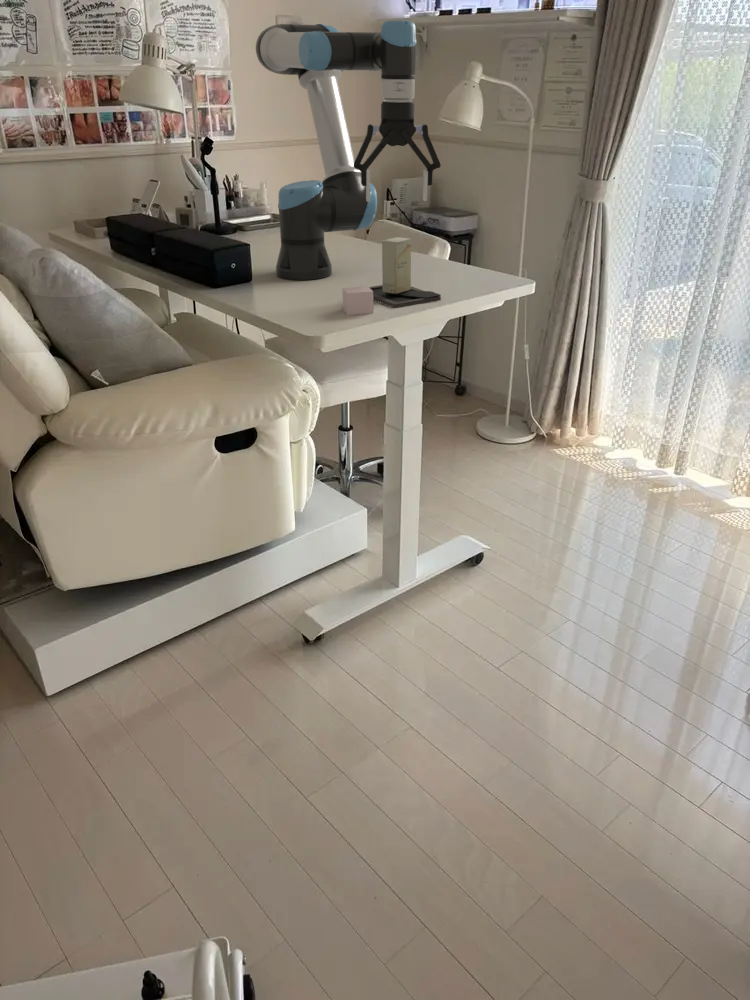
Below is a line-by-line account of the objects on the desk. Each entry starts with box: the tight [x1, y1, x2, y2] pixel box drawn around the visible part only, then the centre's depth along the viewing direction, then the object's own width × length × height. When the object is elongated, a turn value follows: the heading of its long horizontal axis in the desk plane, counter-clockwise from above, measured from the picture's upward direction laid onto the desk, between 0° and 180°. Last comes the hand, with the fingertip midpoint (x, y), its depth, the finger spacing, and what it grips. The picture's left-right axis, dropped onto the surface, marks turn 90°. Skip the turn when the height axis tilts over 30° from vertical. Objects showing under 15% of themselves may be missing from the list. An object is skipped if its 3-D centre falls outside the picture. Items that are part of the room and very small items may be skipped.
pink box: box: [341, 286, 374, 316], centre depth 180 cm, size 6×5×5 cm
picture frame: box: [368, 284, 442, 309], centre depth 193 cm, size 13×2×18 cm
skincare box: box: [381, 236, 412, 294], centre depth 190 cm, size 6×4×12 cm
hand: (396, 200), depth 188 cm, fingers open, 13 cm apart
